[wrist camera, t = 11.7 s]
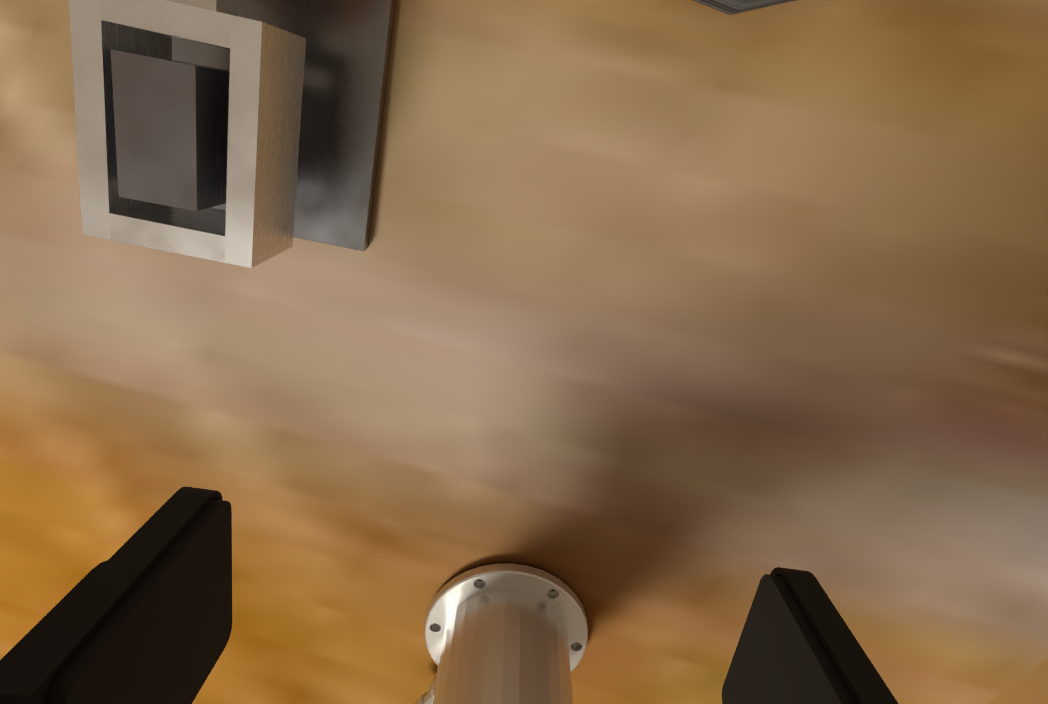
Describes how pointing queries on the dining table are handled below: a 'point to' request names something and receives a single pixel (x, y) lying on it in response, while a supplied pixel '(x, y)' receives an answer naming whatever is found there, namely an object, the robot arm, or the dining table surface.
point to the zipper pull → (739, 4)
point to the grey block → (170, 130)
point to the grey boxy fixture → (245, 120)
